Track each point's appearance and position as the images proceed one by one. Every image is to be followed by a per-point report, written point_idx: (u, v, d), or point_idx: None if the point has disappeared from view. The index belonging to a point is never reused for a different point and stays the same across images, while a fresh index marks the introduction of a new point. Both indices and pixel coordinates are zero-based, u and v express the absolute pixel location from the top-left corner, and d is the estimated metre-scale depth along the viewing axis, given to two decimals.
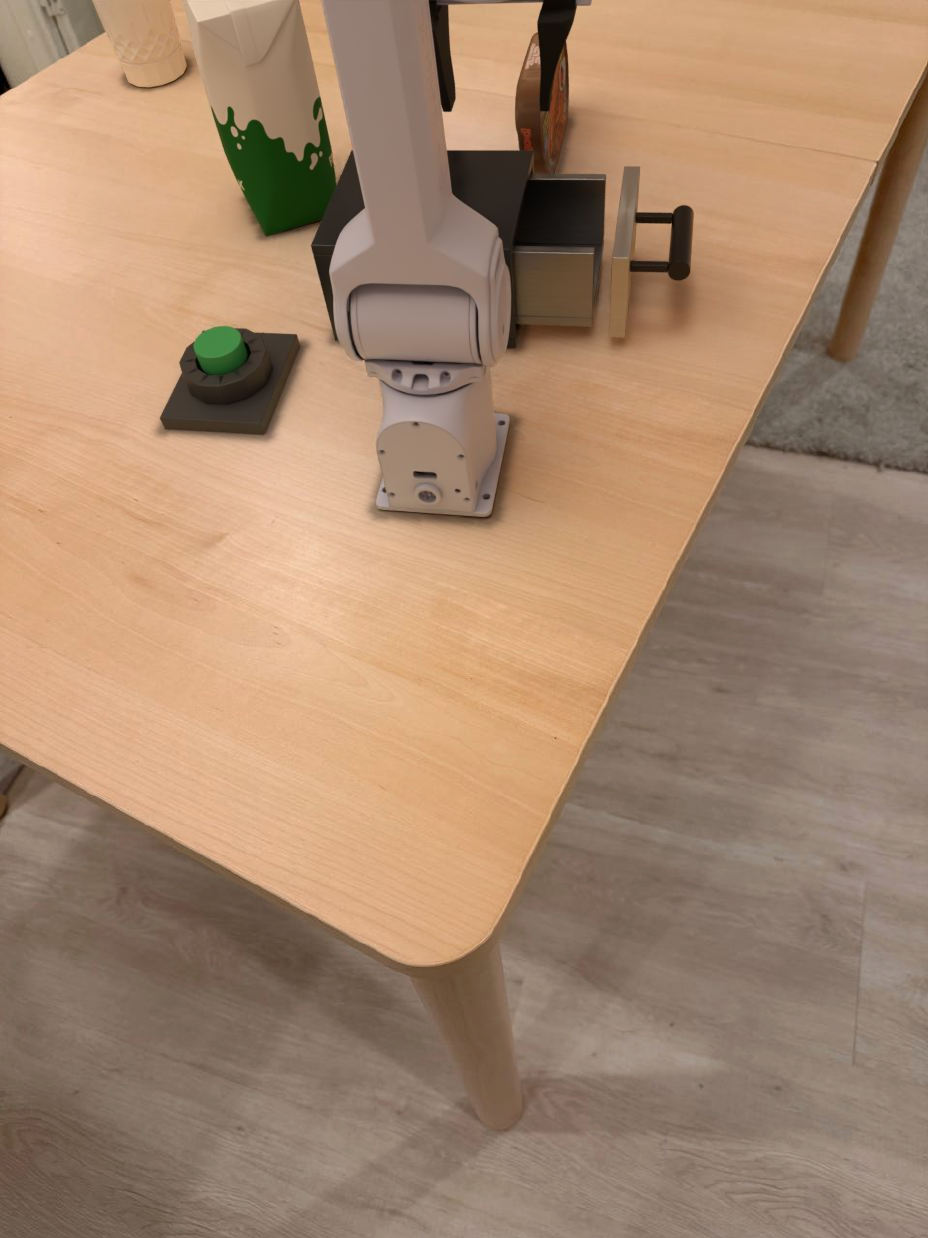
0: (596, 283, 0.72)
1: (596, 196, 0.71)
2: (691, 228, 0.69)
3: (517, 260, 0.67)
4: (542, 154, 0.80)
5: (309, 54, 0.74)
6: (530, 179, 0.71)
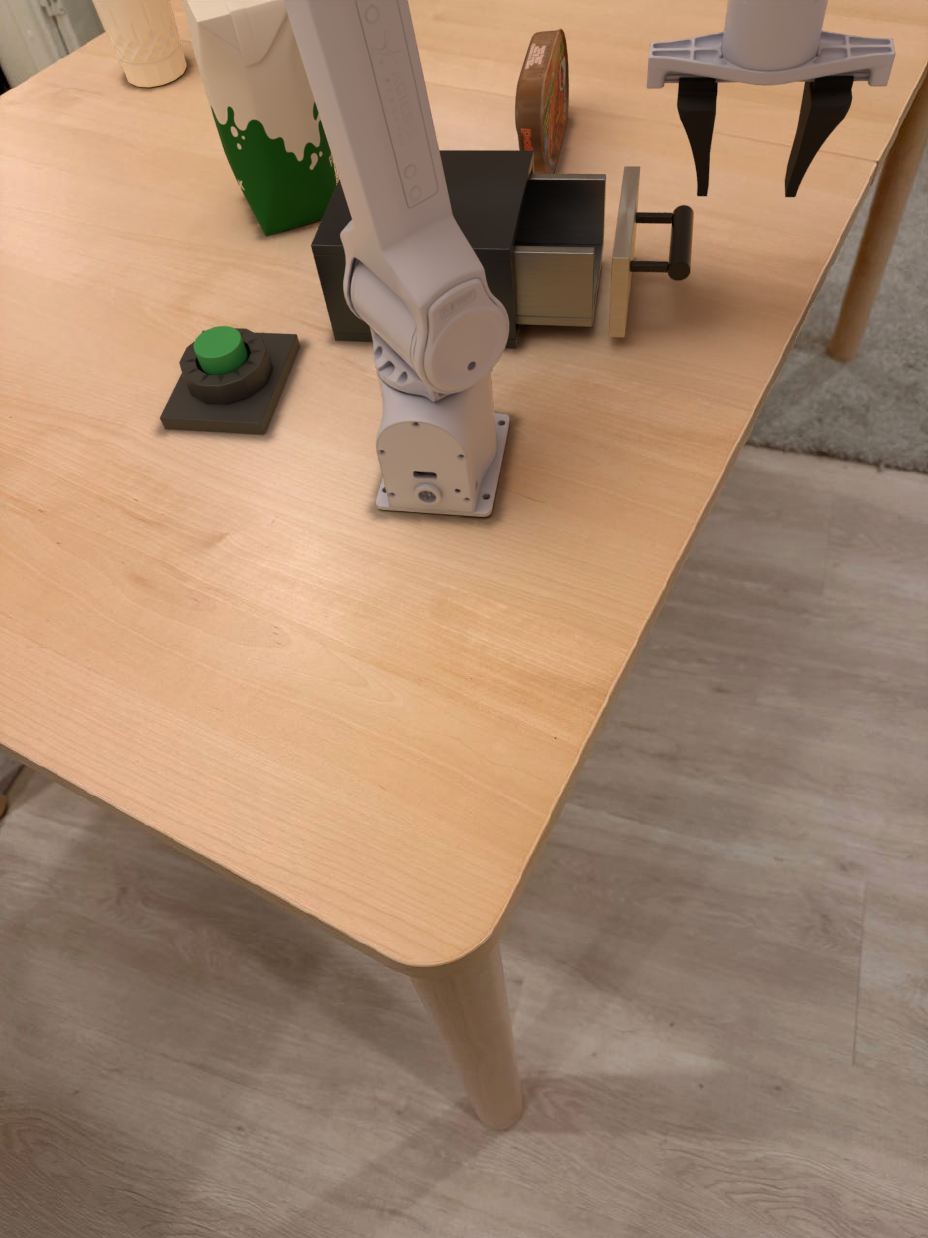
0: (596, 283, 0.72)
1: (596, 196, 0.71)
2: (691, 228, 0.69)
3: (517, 260, 0.67)
4: (542, 154, 0.80)
5: None
6: (530, 179, 0.71)
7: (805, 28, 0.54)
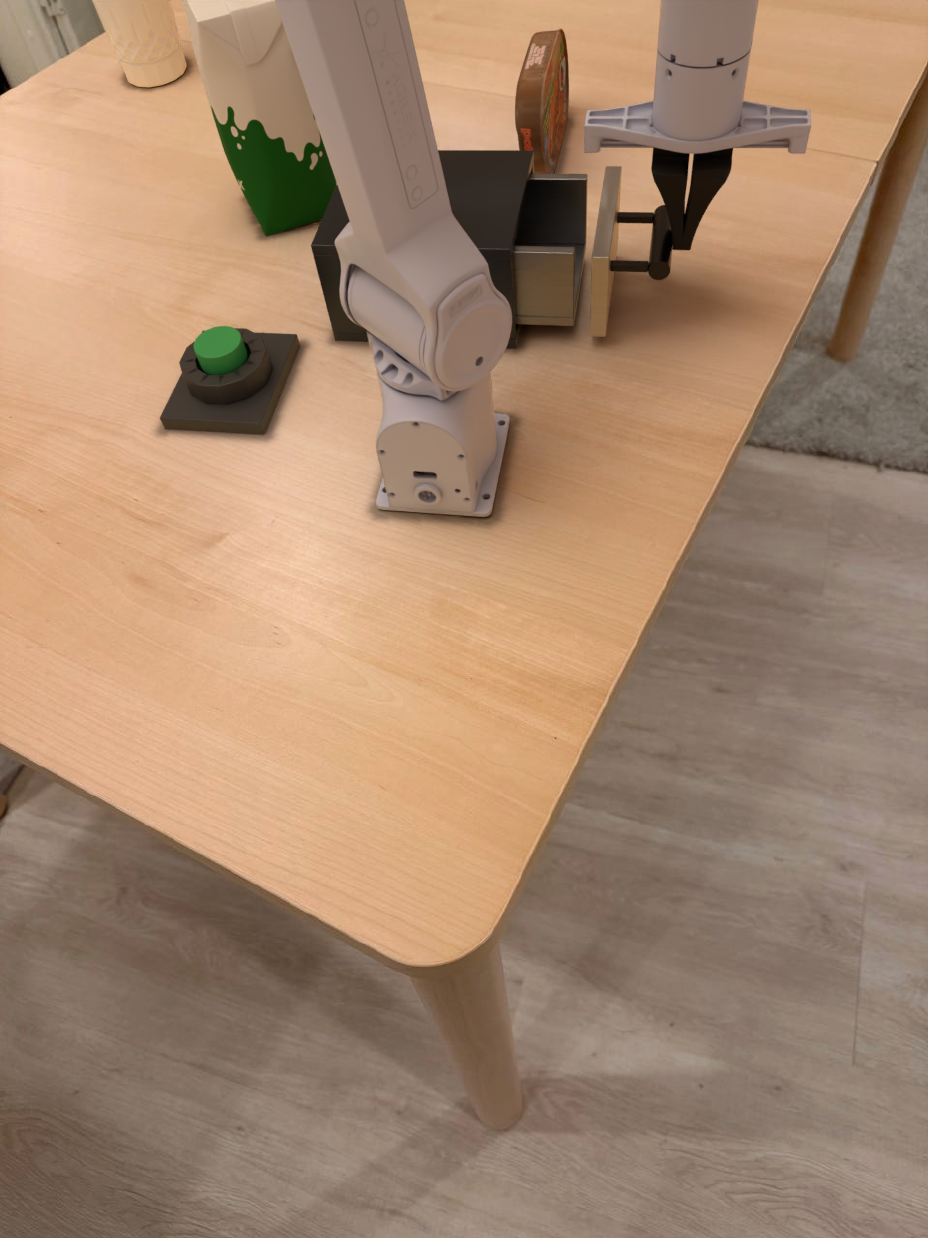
0: (578, 283, 0.72)
1: (578, 196, 0.71)
2: None
3: None
4: (542, 154, 0.80)
5: None
6: None
7: (725, 103, 0.58)
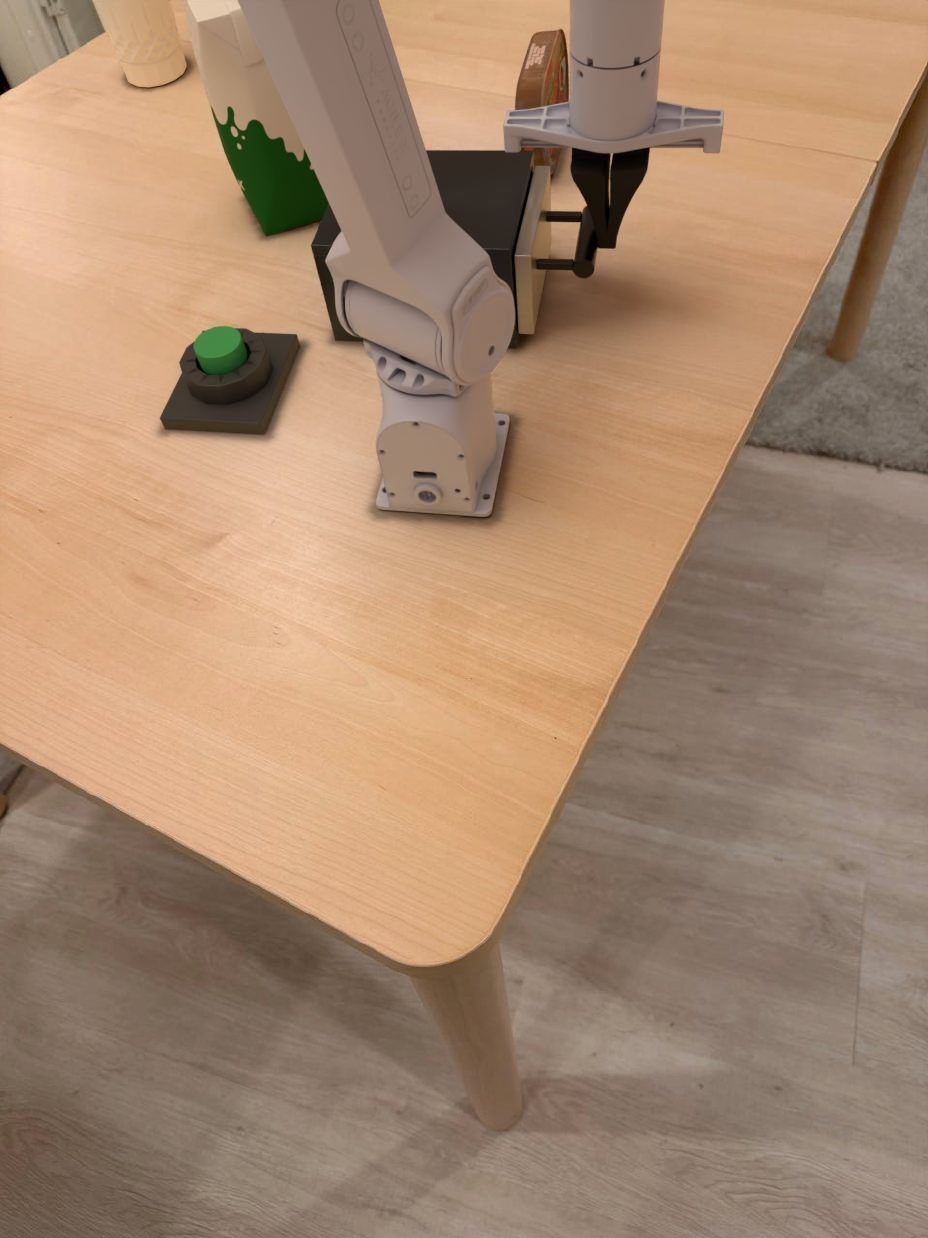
0: None
1: None
2: None
3: None
4: (542, 154, 0.80)
5: None
6: None
7: (636, 103, 0.59)
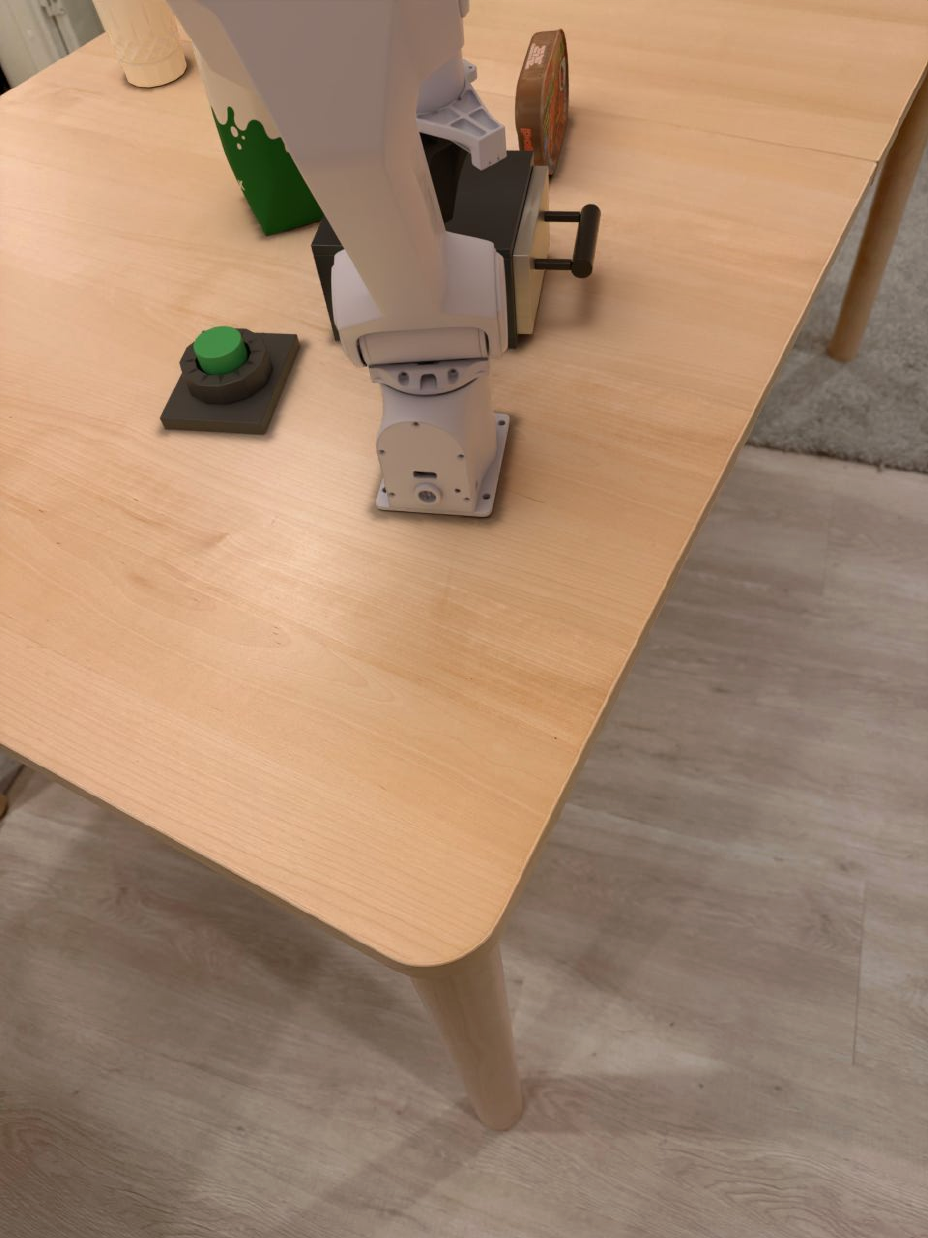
0: None
1: None
2: (596, 226, 0.70)
3: None
4: (542, 154, 0.80)
5: None
6: None
7: None
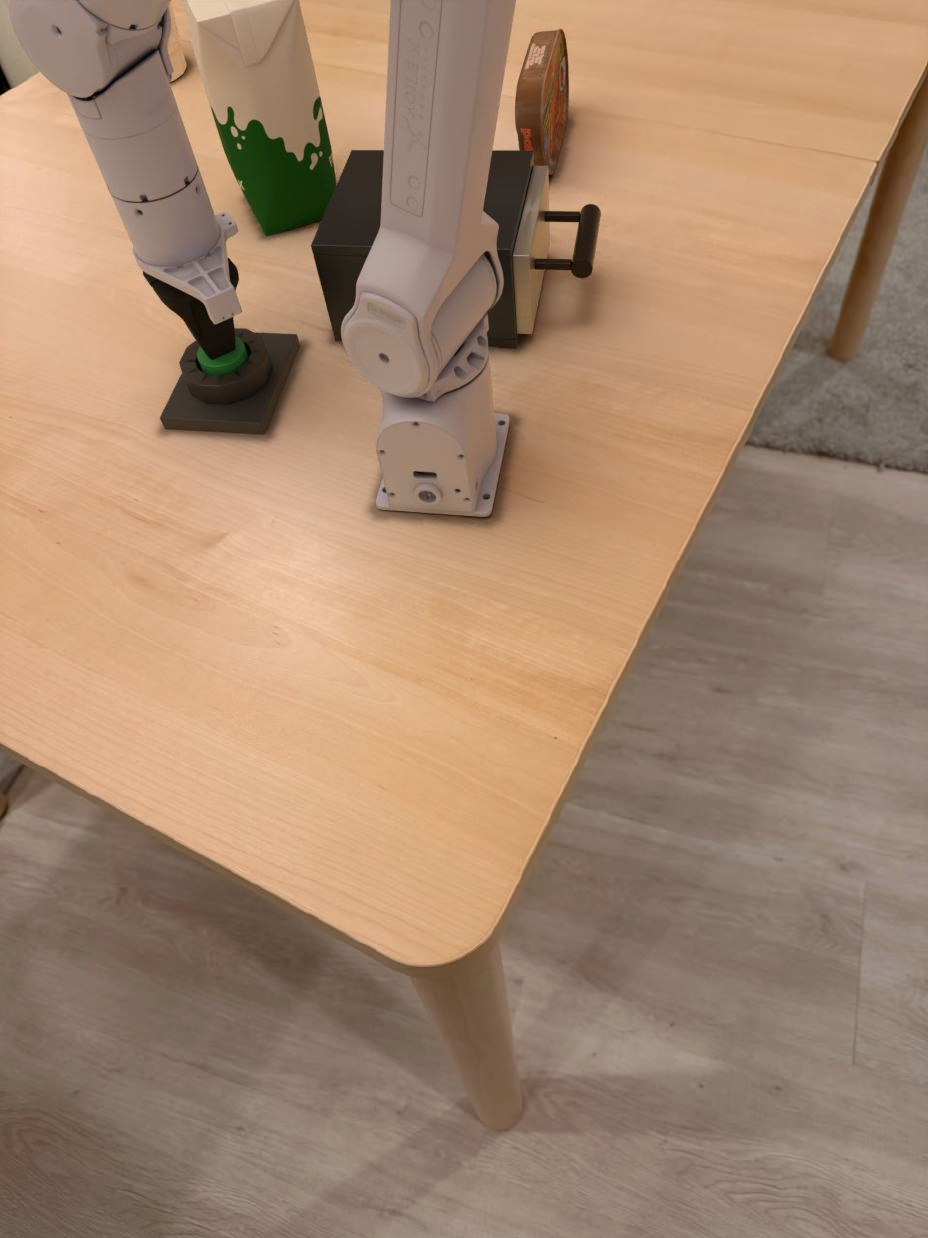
0: None
1: None
2: (596, 226, 0.70)
3: None
4: (542, 154, 0.80)
5: (309, 54, 0.74)
6: None
7: (141, 236, 0.58)
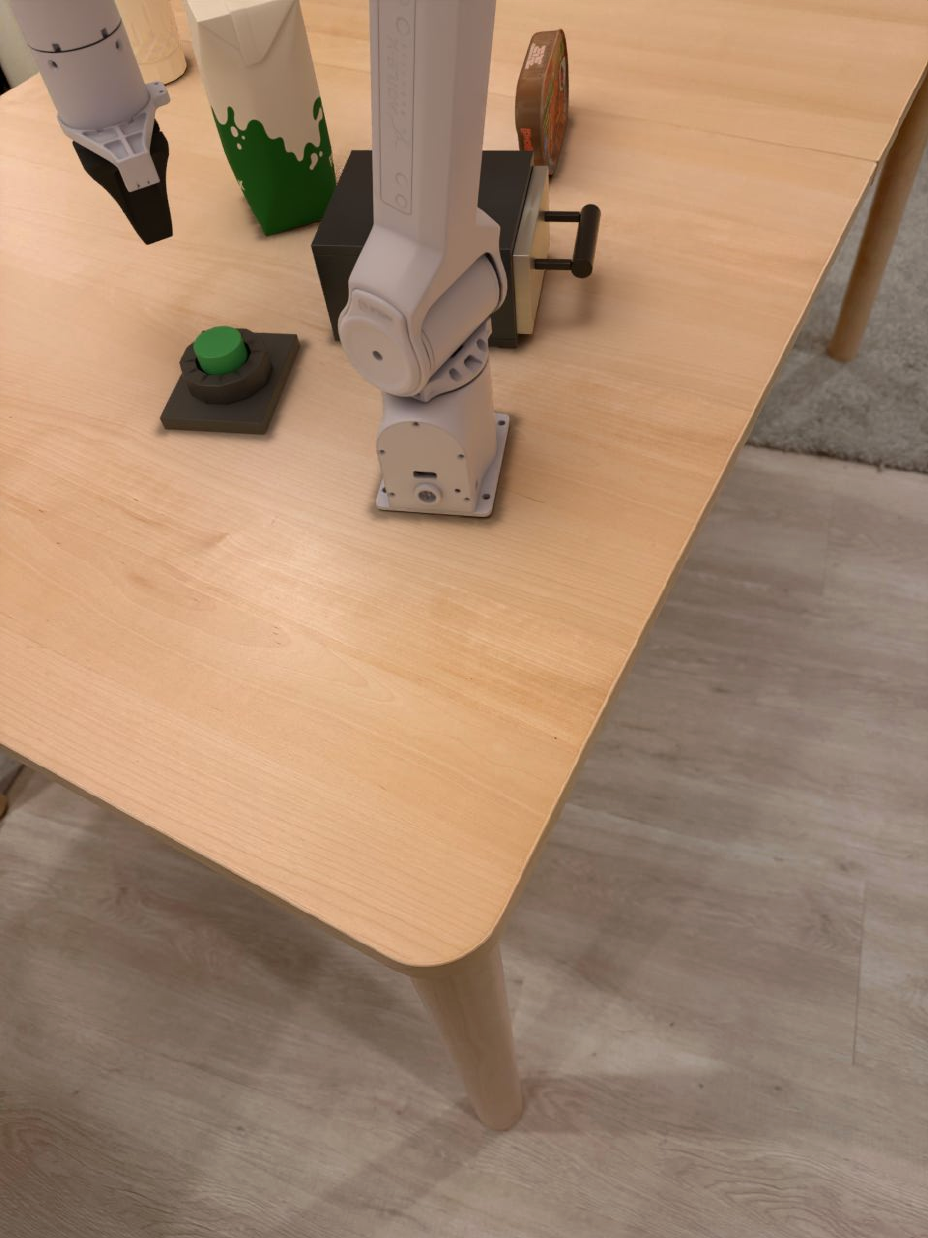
0: None
1: None
2: (596, 226, 0.70)
3: None
4: (542, 154, 0.80)
5: (309, 54, 0.74)
6: None
7: (59, 93, 0.56)
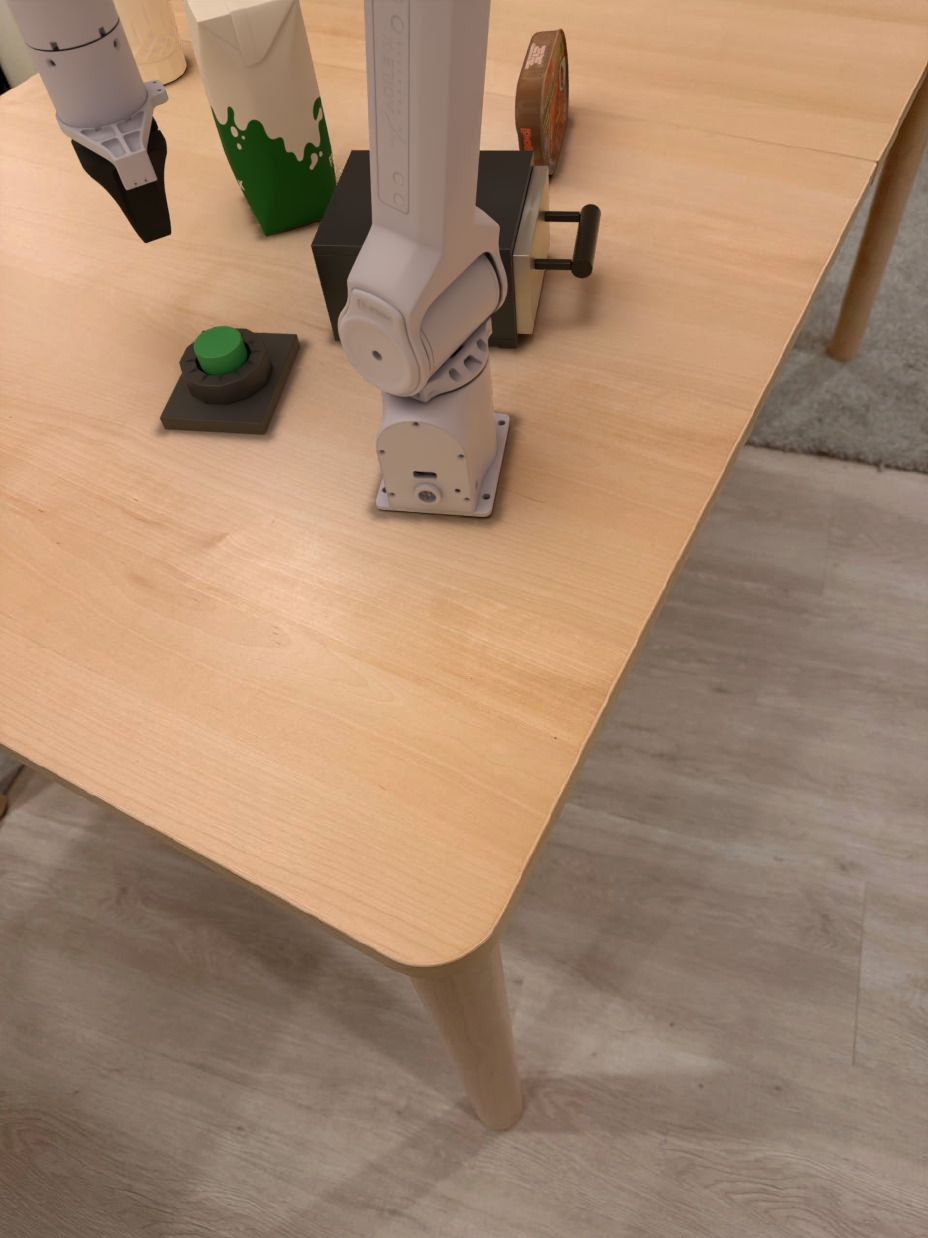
0: None
1: None
2: (596, 226, 0.70)
3: None
4: (542, 154, 0.80)
5: (309, 54, 0.74)
6: None
7: (57, 91, 0.56)
